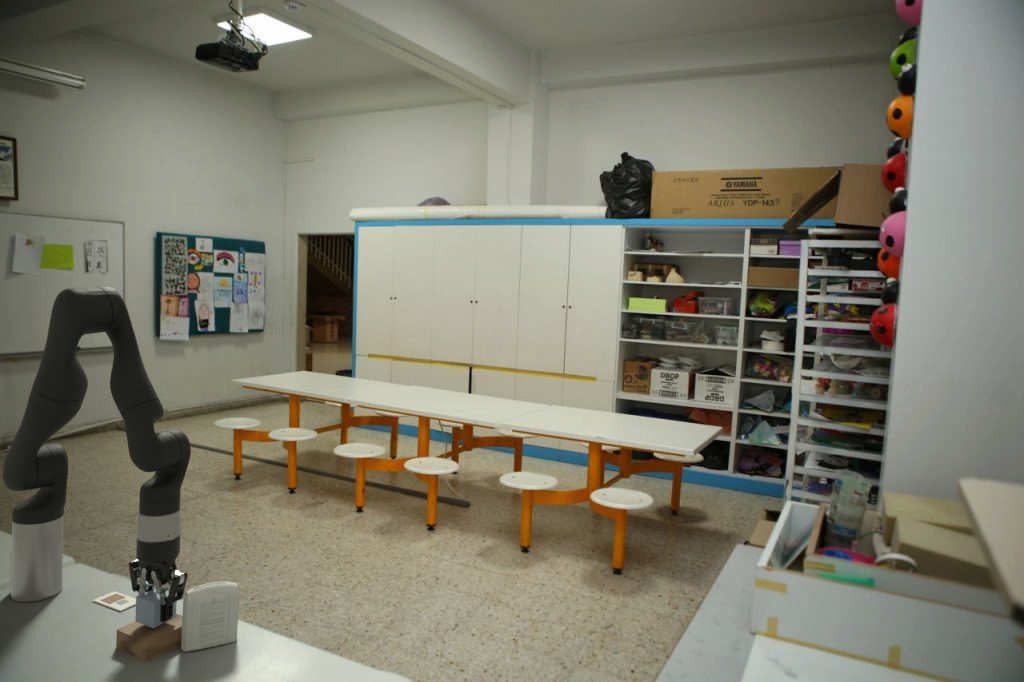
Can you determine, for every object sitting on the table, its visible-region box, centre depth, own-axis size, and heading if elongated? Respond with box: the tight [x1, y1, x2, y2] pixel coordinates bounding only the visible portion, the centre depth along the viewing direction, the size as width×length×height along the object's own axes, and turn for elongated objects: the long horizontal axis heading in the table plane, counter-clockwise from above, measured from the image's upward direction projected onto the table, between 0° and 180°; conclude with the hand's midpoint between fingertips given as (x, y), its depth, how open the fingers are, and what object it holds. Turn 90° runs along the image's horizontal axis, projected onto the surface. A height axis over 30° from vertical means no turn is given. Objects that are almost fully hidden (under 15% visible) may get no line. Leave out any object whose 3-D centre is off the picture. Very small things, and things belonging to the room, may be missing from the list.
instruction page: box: [92, 590, 136, 613], centre depth 142 cm, size 9×5×1 cm, turn 67°
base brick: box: [115, 613, 183, 663], centre depth 127 cm, size 9×10×4 cm
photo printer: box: [180, 580, 240, 652], centre depth 128 cm, size 10×4×12 cm, turn 123°
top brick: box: [134, 588, 177, 628], centre depth 127 cm, size 5×5×5 cm
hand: (156, 616), depth 127 cm, fingers closed on top brick, 4 cm apart
